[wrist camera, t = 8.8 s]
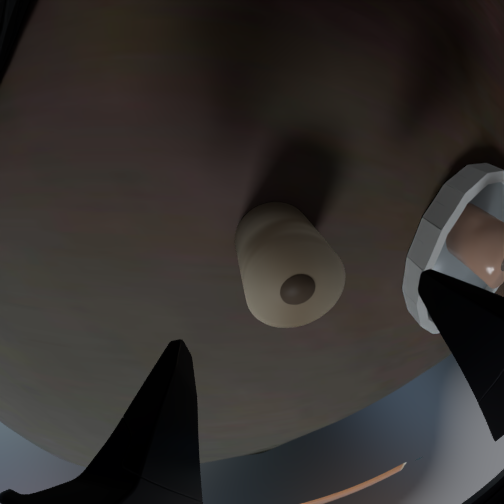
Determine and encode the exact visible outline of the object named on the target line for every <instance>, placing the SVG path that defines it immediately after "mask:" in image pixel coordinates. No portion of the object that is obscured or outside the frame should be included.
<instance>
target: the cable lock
mask: <svg viewBox="0 0 504 504" xmlns="http://www.w3.org/2000/svg"><path fill="white" fill-rule="evenodd" d="M29 1H30V0H0V72H1V70H2V68H3V65H4V63H5V61H6V59H7V57H8V54H9V52H10V49H11V47H12V44H13V42H14V39H15V37H16V35H17V32H18V29H19V26H20V23H21V21H22V18H23V16H24V13H25V10H26V8H27V6H28V3H29Z"/></svg>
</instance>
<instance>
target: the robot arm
mask: <svg viewBox="0 0 504 504" xmlns="http://www.w3.org/2000/svg"><path fill="white" fill-rule="evenodd" d="M418 293H419V296H420V297H421V299H422V301H423V303H424V305H425V307H426V309H427V311H428V313H429V315H430V317H431V319H432V320H433V322H434V324H435V326H436V327H437V329H438V331H439V332H440V334H441V336H442V337H443V339H444V340H445V342H446V344H447V346H448V347H449V349H450V351H451V352H452V354H453V356H454V357H455V359H456V361H457V363H458V365H459V366H460V368H461V370H462V372H463V374H464V376H465V378H466V380H467V381H468V383H469V385H470V387H471V389H472V391H473V393H474V395H475V397H476V399H477V402H478V404H479V406H480V408H481V410H482V412H483V415H484V417H485V419H486V422H487V424H488V426H489V429H490V431H491V434H492V436H493V439H494V440H495V441H497V440H498V439H499V438H500V437H502V436H503V435H504V297H502V296H500V295H498V294H495V293H493V292H490V291H488V290H485V289H483V288H480V287H478V286H475V285H472V284H470V283H467V282H465V281H462V280H459V279H457V278H454V277H451V276H449V275H446V274H443V273H440V272H438V271H435V270H432V269H428V270H425V271H423V272H422V273H421V275H420V279H419V285H418ZM123 417H124V418H122V419H121V420H120V422H119V424H118V425H117V427H116V428H115V430H114V431H113V433H112V434H111V436H110V437H109V439H108V440H107V442H106V443H105V444H104V446H103V447H102V448H101V450H100V451H99V452H98V454H97V455H96V456H95V457H94V459H93V460H92V461H91V463H90V464H89V465H88V467H87V468H86V469H85V470H84V471H83V473H81V474H80V475H79V476H78V477H77V478H75V479H73V480H71V481H69V482H66V483H63V484H60V485H58V486H55V487H52V488H49V489H46V490H43V491H39V492H36V493H32V494H25V495H24V494H19V493H17V492H15V491H13V490H11V489H8V490H6V491H4V492H2V493H0V503H1V504H203V502H202V489H201V476H200V459H199V439H198V407H197V392H196V385H195V377H194V369H193V361H192V356H191V354H190V352H189V350H188V348H187V347H186V345H185V343H184V341H183V340H181V339H179V340H174V341H171V342H170V343H169V344H168V346H167V347H166V349H165V350H164V352H163V354H162V355H161V357H160V358H159V360H158V361H157V363H156V365H155V366H154V368H153V369H152V371H151V372H150V374H149V376H148V377H147V379H146V380H145V382H144V383H143V385H142V387H141V388H140V390H139V391H138V393H137V395H136V396H135V398H134V399H133V401H132V403H131V404H130V406H129V408H128V409H127V411H126V412H125V414H124V416H123ZM462 504H504V469H503V470H502V471H501V472H500V473H499V474H498V475H497V476H496V477H495V478H493V479H492V480H491V481H490V482H489V483H488V484H486V485H485V486H484V487H483V488H482V489H481V490H479V491H478V492H477V493H475V494H474V495H473V496H471V497H470V498H469V499H468V500H466V501H465V502H463V503H462Z"/></svg>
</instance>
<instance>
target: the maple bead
mask: <svg viewBox="0 0 504 504" xmlns="http://www.w3.org/2000/svg"><path fill="white" fill-rule="evenodd" d="M235 247H236V252H237V257H238V262H239V267H240V272H241V277H242V282H243V287H244V292H245V297H246V302H247V305H248V308H249V310H250V311H251V313H252V314H253V315H254V316H255V317H256V318H257V319H258V320H260V321H261V322H263V323H265V324H267V325H270V326H273V327H279V328H292V327H298V326H302V325H305V324H308V323H310V322H313V321H315V320H316V319H318V318H320V317H321V316H323V315H324V314H325V313H327V312H328V311H329V310H330V309H331V308H332V307H333V306H334V304H335V303H336V302H337V300H338V299H339V297H340V295H341V293H342V291H343V288H344V284H345V269H344V265H343V263H342V261H341V259H340V258H339V256H338V255H337V254H336V252H335V251H334V250H333V249H332V248H331V246H330V245H329V244H328V243H327V242H326V240H325V239H324V238H323V237H322V236H321V234H320V233H319V232H318V231H317V230H316V228H315V227H314V226H313V225H312V224H311V223H310V221H309V220H308V219H307V218H306V217H305V216H304V214H303V213H302V212H301V211H300V210H298V209H297V208H296V207H294V206H292V205H290V204H287V203H283V202H269V203H265V204H261V205H259V206H257V207H255V208H253V209H252V210H251V211H249V212H248V213H247V214H246V215H245V216H244V217H243V218H242V220H241V221H240V223H239V225H238V227H237V229H236V233H235Z"/></svg>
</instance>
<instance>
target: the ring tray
mask: <svg viewBox="0 0 504 504" xmlns="http://www.w3.org/2000/svg"><path fill="white" fill-rule="evenodd" d="M468 203H471V204H474V205H475V206H477V207H479V208H481V209H482V210H484V211H486V212H488V213H489V214H491V215H493V216H494V217H496V218H498V219H499V220H501V221H502V222H504V170H503V169H500V168H498V167H496V166H493V165H491V164H488V163H480V164H470V165H466V166H465V167H464V168H463V169H462V170H460V171H459V172H458V173H457V174H455V175H454V176H453V177H452V178H450V179H449V180H448V181H447V182H445V184H444V185H443V186H442V188H441V189H440V191H439V193H438V194H437V196H436V197H435V199H434V200H433V202H432V203H431V205H430V206H429V208H428V209H427V211H426V212H425V214H424V215H423V216H422V217H423V218H422V219H421V221H420V224H419V227H418V229H417V232H416V235H415V237H414V240H413V242H412V245H411V247H410V249H409V252H408V254H407V258H406V265H405V273H404V279H403V286H402V291H403V294H404V298H405V302H406V305H407V309H408V311H409V312H410V314H411V315H412V316H413V317H414V319H415V320H416V321H417V322H418V324H419V325H420V326H421V327H423V328H424V329H426V330H427V331H429V332H431V333H432V334H437V333H440V332H439V331H438V329H437V327H436V326H435V324H434V322H433V320H432V319H431V317H430V315H429V313H428V311H427V309H426V307H425V305H424V303H423V301H422V299H421V297H420V296H419V293H418V285H419V279H420V275H421V273H422V272H423V271H425V270H428V269H432V270H435V271H438V272H440V273H443V274H446V275H449V276H451V277H454V278H457V279H459V280H462V281H465V282H467V283H470V284H472V285H475V286H478V287H480V288H483V289H485V290H488V291H490V292H493V293H495V292H496V290H497V289H498V287H497V288H494V289H492V288H491V287H489V286H488V285H487V284H486V283H485V282H484V281H483V280H482V279H481V278H479V277H478V276H477V275H476V274H475V273H474V272H473V271H471V270H470V269H469V268H468V267H467V266H465V265H464V264H463V263H462V262H461V261H459V260H458V259H457V258H456V257H455V256H453V255H452V254H451V253H450V252H449V251H448V249H447V246H446V237H447V235H448V233H449V232H450V230H451V229H452V227H453V226H454V224H455V223H456V221H457V220H458V218H459V217H460V215H461V213H462V212H463V210H464V209H465V207H466V205H467V204H468Z"/></svg>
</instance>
